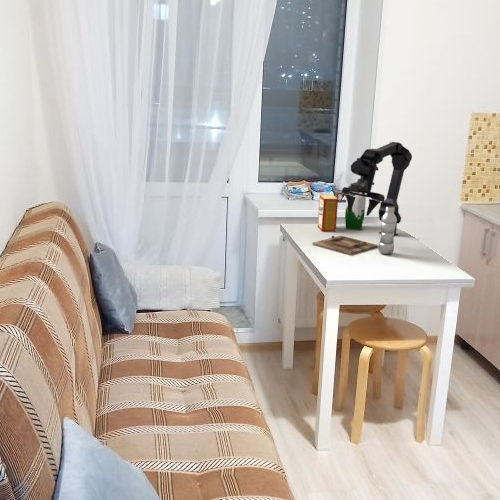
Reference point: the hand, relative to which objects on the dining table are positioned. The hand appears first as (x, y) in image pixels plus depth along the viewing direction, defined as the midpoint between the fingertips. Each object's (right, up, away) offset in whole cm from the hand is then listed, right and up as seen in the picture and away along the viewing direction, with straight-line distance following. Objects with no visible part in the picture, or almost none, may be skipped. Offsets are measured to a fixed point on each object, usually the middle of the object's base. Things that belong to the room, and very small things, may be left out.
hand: (358, 213), depth 285 cm
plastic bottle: (+10, -17, -8) cm, 22 cm away
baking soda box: (-10, -6, +28) cm, 31 cm away
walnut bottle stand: (-6, -14, +1) cm, 15 cm away
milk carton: (+3, -5, +33) cm, 34 cm away
